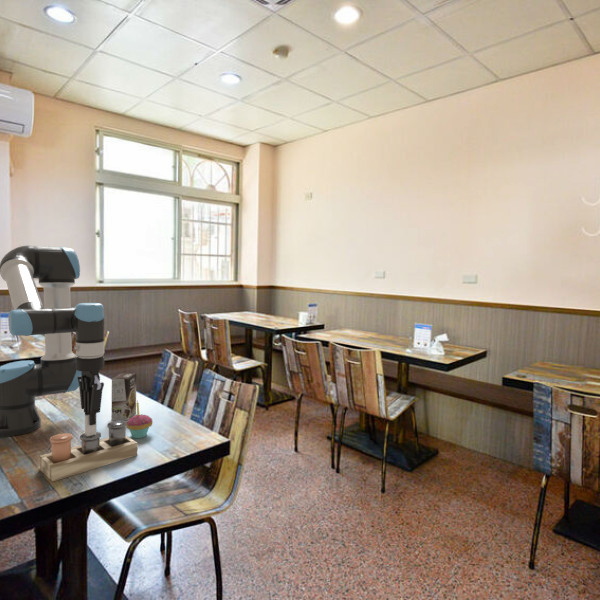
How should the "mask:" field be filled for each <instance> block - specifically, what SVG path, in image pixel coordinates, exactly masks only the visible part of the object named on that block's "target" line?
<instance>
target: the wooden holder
mask: <svg viewBox="0 0 600 600" xmlns="http://www.w3.org/2000/svg"><path fill="white" fill-rule="evenodd" d="M135 456H138V442H137V441H135V439H132V438H130V437H129V436H127V435H126V443H124V444H121V445H117V446H114V447H111V446H110V445H109V436H108V437H105V438H101V439H100V451H97V452H93V453H90V454H86V455H83V454H82V444H79V445H75V446H71V459H69V460H66V461H62V462H59V463H52V452H49V453H45V454H41V455H39V470H40V471H41V472H42V473H43V475H45V476H46V477H47V478H48V479H49V480H50V482H52V483H53V482H56V481H60V480H63V479H66V478H68V477H69V478H70V477H73V476H75V475H79V474H81V473H84V472H89V471H91V470H93V469H94V470H95V469H97V468H101V467H105V466H106V465H109V464H113V463H116V462H119V461H123V460H125V459H129V458H133V457H135Z"/></svg>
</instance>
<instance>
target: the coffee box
mask: <svg viewBox="0 0 600 600" xmlns="http://www.w3.org/2000/svg"><path fill="white" fill-rule="evenodd" d="M135 414H137V373H135V372H134V373H133V372H129V373H127V372H126V373H123V372H121V373H119V374H117V375H116V376H114V377H111V421H117V420H123V421H128V420H129V419H130V418H131V417H133V416H135Z"/></svg>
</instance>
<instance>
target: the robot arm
mask: <svg viewBox="0 0 600 600" xmlns="http://www.w3.org/2000/svg"><path fill="white" fill-rule="evenodd" d="M80 272H81V266H80V260H79V258H78V255H77V253H76V251H75V250H74V249H73V248H71V247H63V246H43V245H42V246H39V245H23V246H21V245H20V246H18V247H16V248H14V249H11V250H10V251H8V252H7V253H6V254H5V255H3V257H2V258H1V260H0V276H1V278H2V279H3V281H4V282H5V283H6V286H7V289H8V293H9V296H10V297H9V298H10V300H11V304H12V308H13V309H12V310H10V311H9V312H8V330H9V331H8V332H9V334H10V335H11V336H13V337H16V336H17V337H19V336H20V337H21V336H22V337H23V336H24V337H29V336H36V335H37V336H38V335H39V336H40V335H44V346H45V347H44V355H42V356H41V357H40V363H35V361H34V360H31V359H30V360H29V359H28V360H18V361H13V362H9V363H6V364H3V365H0V437H14V436H21V435H25V434H29V433H32V432H34V431H36V430H38V429H39V428H40V427H41V426H42V419H41V416H40V413H39V411H38V409H37V406H36V398H39V397H44V396H49V395H51V396H52V395H57V394H66V393H70V392H74V391H76V390H77V389H78V388H79V396H80V397H79V400H80V408H81V410H83V413H84V433H85V435H86V436H91V435H95V434H96V432H97V414H98V413H100V412H101V407H102V399H103V398H102V396H103V389H104V387H105V386H104V385H105V383H104V382H101V381H100V380H101V376H100V372H99V371H101V370H104V368H105V356H104V354H105V307H104V305H103V304H102V303H98V302H81V303H77V304H76V305H75V306H73V307H72V305H71V304H72V303H71V301H72V300H71V298H72V297H71V288H72V287H73V286H74V285H75V283H76V280H78V279H79V278H80V275H81V274H80ZM35 279H38V285H40V286H41V287H42V289H43V301H42V299H41V296H40V293H39V291H38V288H37V285H36V282H35ZM72 333H75V345H74V347H73V346H72V342H73V341H72V339H73V338H72ZM72 347H73V348H74V350H75V353H74V352H73V348H72Z"/></svg>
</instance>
